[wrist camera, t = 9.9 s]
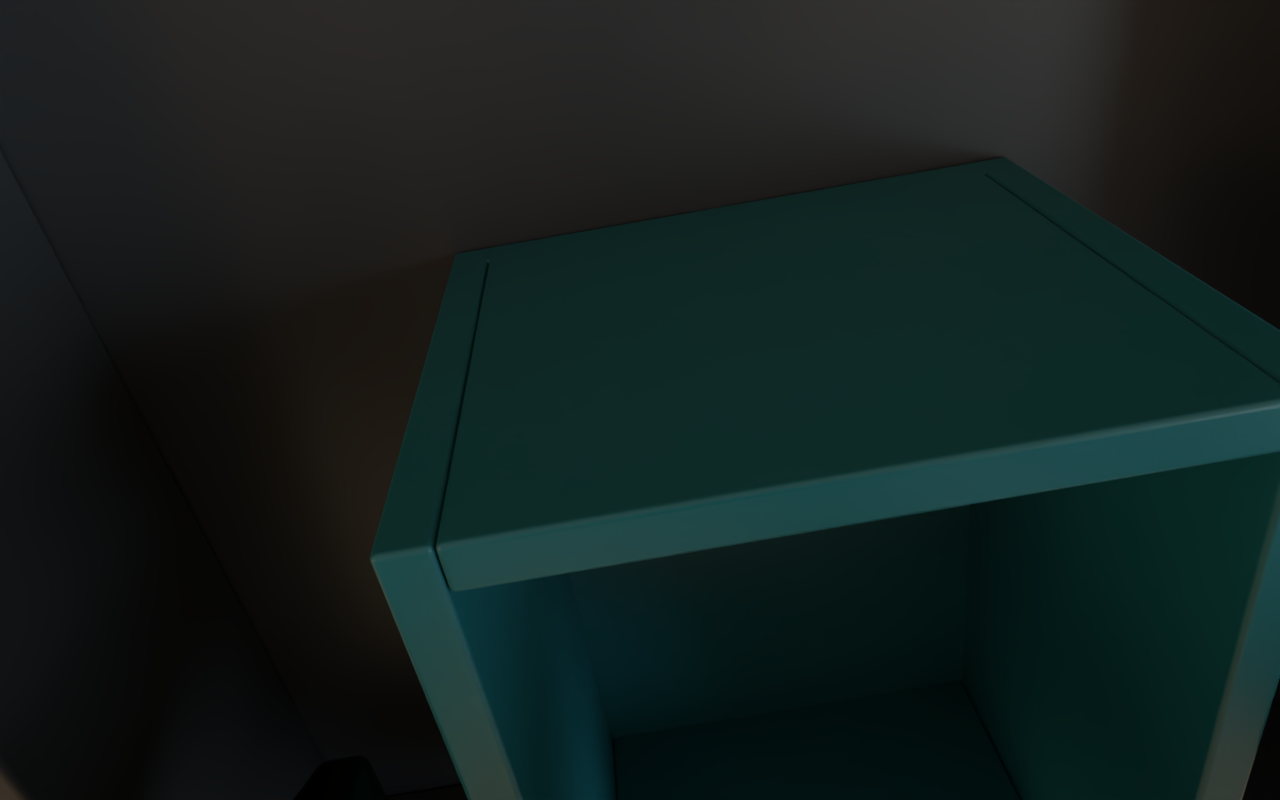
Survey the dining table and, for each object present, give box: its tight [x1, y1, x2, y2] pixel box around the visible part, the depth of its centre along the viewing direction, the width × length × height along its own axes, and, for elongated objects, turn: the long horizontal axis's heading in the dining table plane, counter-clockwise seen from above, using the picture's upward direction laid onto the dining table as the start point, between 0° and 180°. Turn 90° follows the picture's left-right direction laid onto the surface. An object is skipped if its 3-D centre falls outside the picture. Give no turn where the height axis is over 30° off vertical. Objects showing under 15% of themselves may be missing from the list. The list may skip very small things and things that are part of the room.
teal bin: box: [370, 157, 1280, 800], centre depth 9 cm, size 6×8×5 cm
